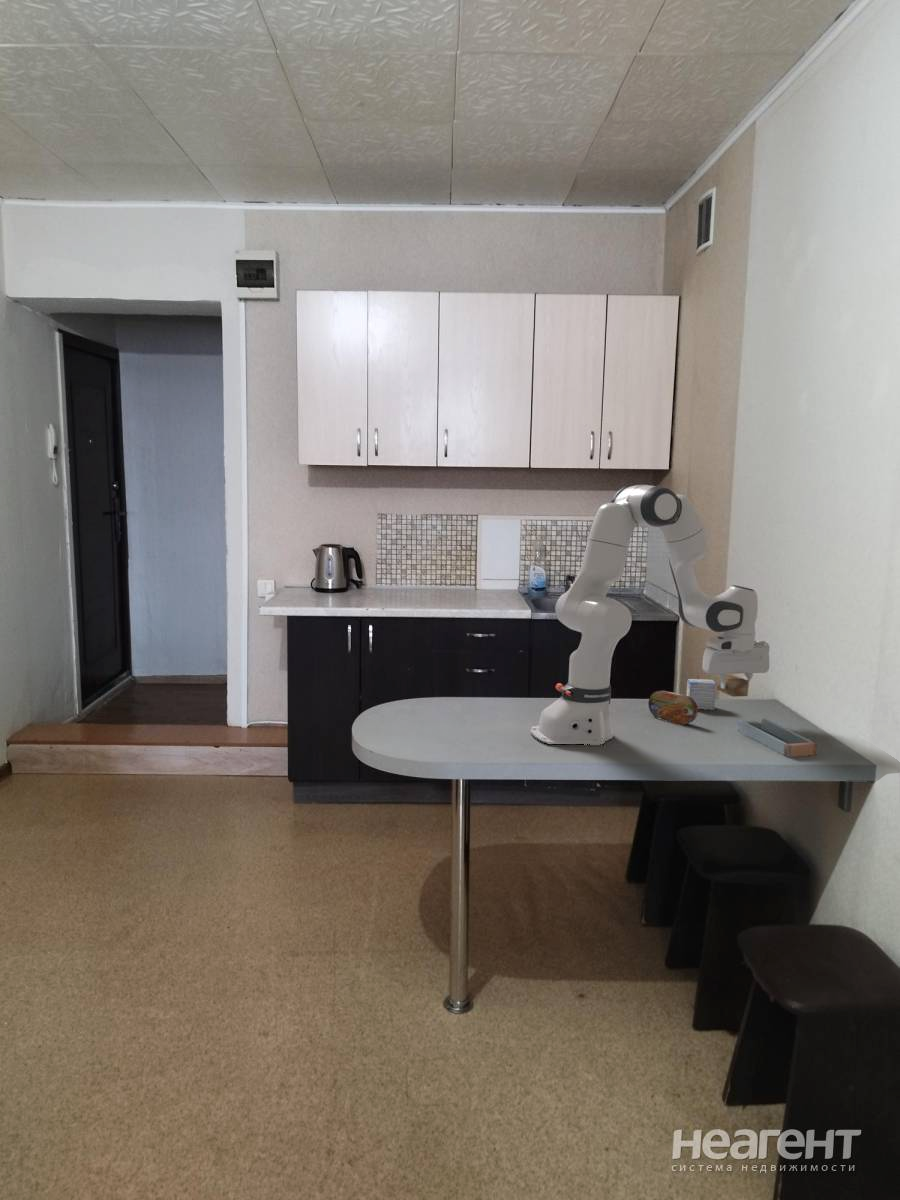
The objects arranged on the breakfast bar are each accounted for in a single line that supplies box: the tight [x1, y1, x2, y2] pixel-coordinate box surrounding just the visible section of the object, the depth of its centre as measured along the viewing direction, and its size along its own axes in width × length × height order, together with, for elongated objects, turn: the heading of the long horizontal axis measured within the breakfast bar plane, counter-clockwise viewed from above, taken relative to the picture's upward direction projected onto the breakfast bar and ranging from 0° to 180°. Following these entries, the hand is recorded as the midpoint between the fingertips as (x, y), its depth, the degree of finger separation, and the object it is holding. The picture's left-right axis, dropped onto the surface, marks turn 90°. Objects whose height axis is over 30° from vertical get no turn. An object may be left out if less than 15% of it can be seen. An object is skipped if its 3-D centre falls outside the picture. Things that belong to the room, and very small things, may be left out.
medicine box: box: [685, 678, 717, 711], centre depth 250 cm, size 8×4×9 cm, turn 84°
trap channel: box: [737, 718, 818, 758], centre depth 219 cm, size 9×22×3 cm, turn 14°
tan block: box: [716, 674, 750, 698], centre depth 238 cm, size 5×8×4 cm, turn 14°
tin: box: [647, 690, 699, 725], centre depth 237 cm, size 15×3×8 cm, turn 44°
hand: (734, 687), depth 237 cm, fingers closed on tan block, 5 cm apart
